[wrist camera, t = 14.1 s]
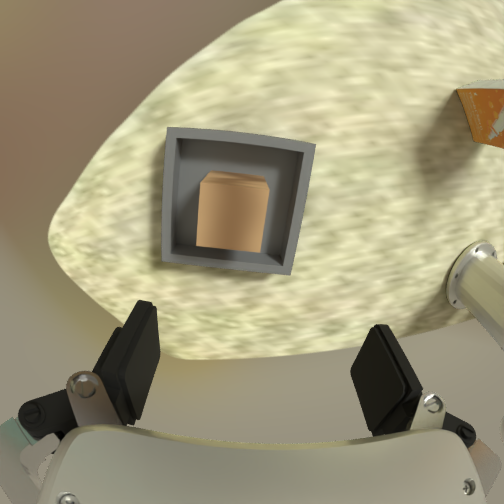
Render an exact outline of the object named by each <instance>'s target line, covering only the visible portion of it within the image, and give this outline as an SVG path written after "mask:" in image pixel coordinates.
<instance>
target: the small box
mask: <svg viewBox="0 0 504 504" xmlns="http://www.w3.org/2000/svg"><path fill="white" fill-rule="evenodd" d="M456 90H457V93H458V95H459V97H460V100H461V102H462V105H463V108H464V111H465V114H466V116H467V119H468V123H469V126H470V129H471V133H472V136H473V140H474V142H478V143H483V144H487V145H491V146H495V147H499V148H503V149H504V79H492V80H477V81H475V82H472V83H470V84H467V85H465V86H462V87H460V88H457V89H456Z"/></svg>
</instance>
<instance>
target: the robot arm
mask: <svg viewBox="0 0 504 504" xmlns="http://www.w3.org/2000/svg"><path fill="white" fill-rule="evenodd" d="M446 295H447V299H448V301H449V303H450V304H451V305H452V306H453V307H454V308H457V309H464V308H467V309H468V310H469V311H470V312H471V313H472V315H473V316H474V317H475V318H476V319H477V320H478V321H479V322H480V323H481V324H482V326H483V327H484V328H485V329H486V330H487V331H488V333H489V334H490V335H491V336H492V337H493V339H494V340H495V341H496V342H497V343H498V345H499V346H500V347H501V348H502V349H503V351H504V265H503V264H502V263H501V262H499V261H498V260H497V254H496V250H495V248H494V247H493V246H492V245H491V244H490V243H488V242H486V241H478V242H475V243H473V244H472V245H470V246H469V247H468V248H467V249H466V250H465V251H464V252H463V253H462V254H461V255H460V256H459V258H458V259H457V261H456V262H455V264H454V266H453V268H452V270H451V272H450V275H449V278H448V281H447V287H446ZM159 359H160V344H159V333H158V321H157V308H156V306H153V305H152V302H148V301H142V300H138V301H137V303H136V305H135V306H134V308H133V310H132V312H131V313H130V315H129V317H128V319H127V321H126V322H125V324H124V326H123V328H121V327H117V328H116V329H115V330H114V332H113V335H112V336H111V337H110V339H109V341H108V343H107V345H106V346H105V348H104V350H103V352H102V354H101V356H100V357H99V359H98V361H97V363H96V365H95V367H94V369H93V371H92V372H90V371H79V372H77V373H74V374H73V375H72V376H70V378H69V379H68V381H67V384H66V389H64V390H61V391H58V392H55V393H52V394H49V395H46V396H43V397H39V398H36V399H33V400H30V401H28V402H26V403H24V404H23V405H22V406H21V408H20V409H19V413H18V417H17V418H16V419H14V418H13V417H12V418H10V419H9V420H7V421H6V422H4V423H3V424H2V425H1V426H0V486H1V487H2V489H3V490H4V492H5V494H6V495H7V497H8V498H9V499H10V501H11V502H12V503H13V504H487V501H486V496H487V494H488V492H489V490H490V489H491V487H492V485H493V483H494V481H495V480H496V478H497V476H498V474H499V472H500V470H501V460H500V458H499V457H498V456H497V455H496V454H495V453H494V452H493V451H492V450H491V449H490V448H489V447H488V446H487V445H485V444H484V443H483V442H482V441H481V440H480V439H477V440H476V433H475V430H474V428H473V427H472V426H471V425H470V424H468V423H467V422H465V421H463V420H461V419H459V418H457V417H455V416H453V415H451V414H449V413H447V412H446V404H445V401H444V400H443V398H442V397H441V396H440V395H438V394H437V393H434V392H426V393H424V394H422V392H421V391H422V390H423V388H422V386H421V384H420V382H419V380H418V378H417V376H416V374H415V372H414V370H413V368H412V367H411V365H410V363H409V361H408V359H407V357H406V356H405V354H404V352H403V350H402V349H401V347H400V345H399V343H398V341H397V340H396V338H395V336H394V334H393V333H392V331H391V329H390V328H389V326H388V325H383V324H376V325H375V326H374V327H372V328H371V329H370V331H369V333H368V335H367V337H366V339H365V341H364V343H363V345H362V347H361V349H360V351H359V353H358V355H357V358H356V359H355V361H354V363H353V365H352V367H351V371H350V372H351V377H352V380H353V383H354V386H355V389H356V392H357V395H358V398H359V401H360V404H361V408H362V411H363V414H364V417H365V420H366V424H367V427H368V429H369V431H371V432H372V435H373V437H368V438H361V439H353V440H344V441H334V442H322V443H303V444H302V443H301V444H261V443H240V442H226V441H217V440H208V439H200V438H193V437H186V436H179V435H173V434H167V433H162V432H157V431H152V430H146V429H141V428H136V427H129V426H127V424H130V425H134V424H135V421H136V419H137V420H140V418H141V415H142V412H143V408H144V405H145V402H146V399H147V396H148V392H149V389H150V386H151V383H152V380H153V377H154V374H155V371H156V368H157V365H158V362H159ZM500 435H501V439H502V442H503V444H504V417H503V418H502V421H501V424H500ZM49 454H54V455H53V457H52V459H51V462H50V464H49V466H48V469H47V472H46V475H45V477H44V480H43V483H42V482H41V480H40V478H39V477H38V468H39V466H40V465H41V463H43V462H44V461H45V460H46V459H45V457H46V456H48V455H49Z"/></svg>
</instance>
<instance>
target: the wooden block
mask: <svg viewBox="0 0 504 504" xmlns="http://www.w3.org/2000/svg"><path fill="white" fill-rule="evenodd" d="M269 191H270V190H269V187H268V185H267V182H266V180H265V178H264V176H259V175H251V174H242V173H233V172H224V171H213V170H211V171H210V172H209V173H208V174H207V176H206V177H205V178H204V179H203V180H202V181H201V183H200V195H199V209H198V224H197V242H196V246H202V247H212V248H221V249H230V250H240V251H249V252H258V253H260V250H261V243H262V237H263V230H264V224H265V217H266V210H267V204H268V197H269Z"/></svg>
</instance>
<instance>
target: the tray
mask: <svg viewBox="0 0 504 504" xmlns="http://www.w3.org/2000/svg"><path fill="white" fill-rule="evenodd" d="M315 147H316V144H313V143H308V142H302V141H297V140H291V139H285V138H279V137H272V136H265V135H258V134H250V133H242V132H233V131H223V130H211V129H197V128H179V127H167V135H166V146H165V158H164V173H163V193H162V234H161V250H162V261H164V262H172V263H181V264H189V265H198V266H206V267H215V268H224V269H233V270H243V271H252V272H262V273H272V274H281V275H291V270H292V266H293V261H294V257H295V252H296V247H297V242H298V238H299V233H300V228H301V223H302V218H303V213H304V208H305V203H306V197H307V192H308V187H309V181H310V176H311V170H312V164H313V159H314V153H315ZM211 170H213V171H224V172H233V173H242V174H251V175H259V176H264V178H265V180H266V182H267V185H268V187H269V190H270V191H269V197H268V204H267V210H266V217H265V224H264V230H263V237H262V243H261V250H260V253H258V252H249V251H240V250H230V249H221V248H212V247H202V246H196V242H197V224H198V209H199V195H200V183H201V181H202V180H203V179H204V178H205V177H206V176H207V174H208V173H209V172H210V171H211Z"/></svg>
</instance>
